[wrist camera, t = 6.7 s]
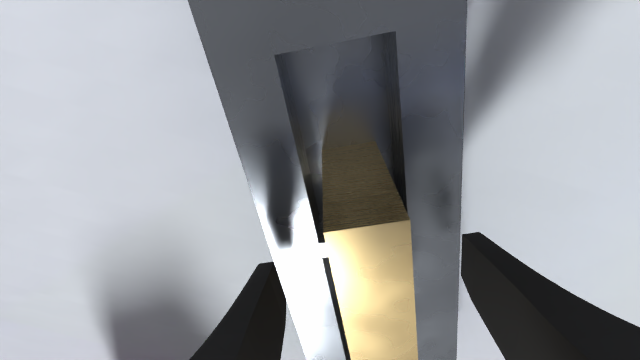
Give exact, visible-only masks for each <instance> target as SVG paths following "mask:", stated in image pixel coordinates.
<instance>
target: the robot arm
mask: <svg viewBox="0 0 640 360" xmlns="http://www.w3.org/2000/svg"><path fill="white" fill-rule="evenodd" d="M461 276H462V279H463V281H464V283H465V286H466V288H467V291H468V293H469V295H470V298H471V300H472V302H473V304H474V305H475V307H476V309H477V311H478V313H479V314H480V316H481V318H482V320H483V321H484V323H485V325H486V327H487V328H488V330H489V332H490V334H491V335H492V337H493V339H494V340H495V342H496V344H497V346H498V347H499V349H500V351H501V353H502V354H503V356H504V358H505V360H640V327H638V326H635V325H633V324H631V323H629V322H627V321H625V320H623V319H620V318H618V317H616V316H614V315H612V314H610V313H608V312H606V311H604V310H602V309H600V308H598V307H596V306H594V305H592V304H591V303H589V302H587V301H585V300H583V299H581V298H579V297H577V296H576V295H574V294H572V293H570V292H569V291H567V290H565V289H563V288H562V287H560V286H558V285H557V284H555V283H553V282H552V281H550V280H548V279H547V278H545V277H544V276H542V275H540V274H539V273H537V272H536V271H534V270H533V269H531V268H530V267H528V266H527V265H525V264H524V263H522V262H521V261H519V260H518V259H516V258H515V257H514V256H512V255H511V254H509V253H508V252H506V251H505V250H504V249H502V248H501V247H499V246H498V245H497V244H495V243H494V242H492V241H491V240H490V239H488V238H487V237H486V236H484V235H483V234H481V233H480V232H476V233H469V234H462V261H461ZM285 324H286V296H285V293H284V290H283V287H282V284H281V281H280V278H279V275H278V272H277V269H276V266H275V263H274V262H268V263H261V264H259V265H258V266H257V267H256V269H255V271H254V272H253V274H252V275H251V277H250V279H249V280H248V282H247V283H246V285H245V287H244V288H243V290H242V291H241V293H240V294H239V296H238V297H237V299H236V300H235V302H234V303H233V305H232V306H231V308H230V309H229V311H228V312H227V313H226V315H225V316H224V317H223V319H222V320H221V322H220V323H219V324H218V326H217V327H216V328H215V330H214V331H213V332H212V334H211V335H210V336H209V337H208V339H207V340H206V341H205V342H204V343H203V345H202V346H201V347H200V348H199V349H198V351H197V352H196V353H195V354H194V355H193V356H192V357H191V359H190V360H280V359H281V352H282V345H283V338H284V331H285Z"/></svg>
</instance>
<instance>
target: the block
mask: <svg viewBox="0 0 640 360" xmlns="http://www.w3.org/2000/svg"><path fill="white" fill-rule="evenodd" d="M188 2H189V5H190V8H191V11H192V15H193V18H194V21H195V24H196V27H197V30H198V33H199V36H200V39H201V42H202V45H203V48H204V51H205V54H206V57H207V60H208V63H209V66H210V69H211V72H212V75H213V78H214V81H215V84H216V87H217V90H218V93H219V96H220V99H221V102H222V105H223V108H224V111H225V114H226V117H227V121H228V124H229V127H230V130H231V133H232V136H233V139H234V142H235V145H236V148H237V151H238V154H239V157H240V160H241V163H242V166H243V169H244V172H245V175H246V178H247V181H248V184H249V187H250V190H251V193H252V196H253V199H254V202H255V205H256V208H257V211H258V214H259V217H260V220H261V223H262V227H263V230H264V233H265V236H266V239H267V242H268V245H269V248H270V251H271V254H272V257H273V260H274V263H275V266H276V269H277V272H278V275H279V278H280V281H281V284H282V287H283V290H284V293H285V296H286V299H287V302H288V305H289V308H290V311H291V314H292V317H293V320H294V323H295V326H296V329H297V333H298V336H299V339H300V342H301V345H302V348H303V351H304V354H305V357H306V360H351V358H350V353H349V348H348V344H347V339H346V335H345V330H344V325H343V321H342V316H341V312H340V307H339V302H338V298H337V293H336V289H335V284H334V279H333V275H332V270H331V266H330V261H329V256H328V252H327V247H326V243H325V238H324V233H323V189H322V150H326V149H332V148H337V147H343V146H349V145H355V144H361V143H367V142H373V141H376V144H377V146H378V148H379V150H380V153H381V155H382V157H383V159H384V162H385V164H386V166H387V168H388V171H389V173H390V175H391V178H392V180H393V182H394V184H395V187H396V189H397V191H398V193H399V196H400V198H401V200H402V202H403V205H404V207H405V209H406V211H407V214H408V216H409V218H410V223H411V241H412V259H413V277H414V295H415V313H416V330H417V348H418V360H456V356H457V322H458V288H459V254H460V220H461V187H462V153H463V119H464V85H465V51H466V18H467V0H188Z"/></svg>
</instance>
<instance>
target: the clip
mask: <svg viewBox="0 0 640 360" xmlns="http://www.w3.org/2000/svg"><path fill="white" fill-rule="evenodd" d="M322 189H323V233H324V238H325V243H326V247H327V252H328V256H329V261H330V266H331V270H332V275H333V279H334V284H335V289H336V293H337V298H338V302H339V307H340V312H341V316H342V321H343V325H344V330H345V335H346V339H347V344H348V348H349V353H350V358H351V360H418V348H417V330H416V313H415V295H414V277H413V259H412V241H411V223H410V218H409V216H408V214H407V211H406V209H405V207H404V205H403V202H402V200H401V198H400V196H399V193H398V191H397V189H396V187H395V184H394V182H393V180H392V178H391V175H390V173H389V171H388V168H387V166H386V164H385V162H384V159H383V157H382V155H381V153H380V150H379V148H378V146H377V144H376V141H373V142H367V143H361V144H355V145H349V146H343V147H337V148H332V149H326V150H322Z"/></svg>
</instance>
